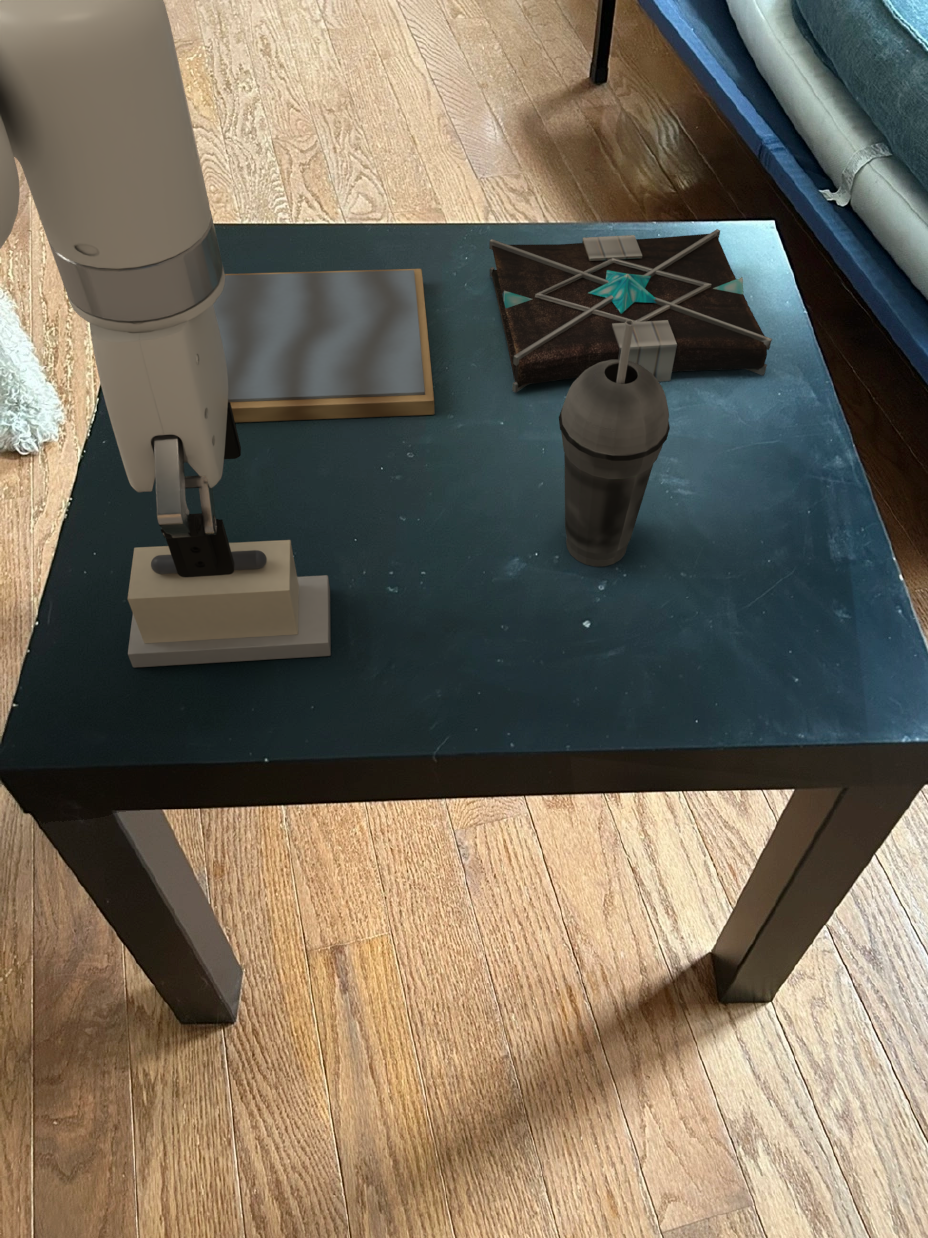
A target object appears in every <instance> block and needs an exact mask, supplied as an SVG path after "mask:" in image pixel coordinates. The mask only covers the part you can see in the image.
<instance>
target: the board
mask: <svg viewBox="0 0 928 1238" xmlns="http://www.w3.org/2000/svg"><path fill="white" fill-rule="evenodd" d="M224 274H225V284H224V288H223V291H222V292H221V294H220V296H219V297H218V298H217V300H216V301H215V303H214V304H213V306H214V310H215V314H216V318H217V322H218V326H219V331H220V335H221V339H222V344H223V349H224V354H225V360H226V366H227V374H228V402H230V404H231V408H232V412H233V416H234V420H235V424H236V423H258V422H259V423H261V422H284V421H287V422H288V421H309V420H312V421H313V420H333V419H334V420H335V419H336V420H337V419H359V418H360V419H361V418H362V419H363V418H381V417H383V418H387V417H407V416H409V417H412V416H433V415H435V412H436V411H435V394H434V384H433V383H434V382H433V372H432V363H431V362H432V361H431V352H430V351H431V350H430V341H429V332H428V320H427V310H426V300H425V289H424V279H423V270H422V268H397V269H396V268H395V269H391V268H390V269H360V270H359V269H357V270H322V271H288V272H287V271H286V272H284V271H283V272H254V273H251V272H249V273H245V272H244V273H224Z"/></svg>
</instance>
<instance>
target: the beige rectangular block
mask: <svg viewBox="0 0 928 1238" xmlns="http://www.w3.org/2000/svg"><path fill="white" fill-rule="evenodd" d="M229 545H230V549H231V553H232V556H233V560H234V572H233V573H232V574H230V575H216V576H201V577H181V576H179V575H178V573H177V570H176V567H175V564H174V561H173V558H172V556H171V553H170V550H169V547H168V545H163V546H162V545H161V546H160V545H159V546H140V547H134V548H133V556H132V562H131V569H130V576H129V577H130V578H129V586H128V593H127V602H128V604H129V607H130V610H131V612H132V617H131V625H130V633H129V642H128V648H127V656H128V659H129V661H130V664H131V666H132V668H150V667H168V666H169V667H170V666H184V665H199V664H216V663H217V664H219V663H231V662H232V663H234V662H252V661H267V660H282V659H285V660H286V659H300V658H317V657H318V658H319V657H330V656H331V655H332V653H331V652H332V651H331V650H332V649H331V648H332V647H331V645H332V644H331V642H332V641H331V639H332V638H331V587H330V579H329V575H327V574H324V575H305V576H298V574H297V568H296V563H295V557H294V552H293V546H292V540H291V539H281V540H261V541H260V540H259V541H242V542H241V541H239V542H229Z"/></svg>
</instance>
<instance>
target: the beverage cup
mask: <svg viewBox="0 0 928 1238" xmlns="http://www.w3.org/2000/svg"><path fill="white" fill-rule="evenodd" d="M633 326H634V322H633V321H632V320H627V321H626V322H625V328H624V334H623V341H622V348H621V354H620V359H614V360H607V361H603V362H600V363H597V364H595V365H593V366H591V367H589V368H588V369H586V370H585V371H584V372H583V373H582V374H581V375H580V376H579V377H578V378H575V380H574V381H573V382H572V383H571V385H570V386H569V388H568V390H567V393H566V396H565V398H564V402H563V405H562V407H561V410H560V413H559V416H558V423H559V430H560V433H561V441H562V447H563V453H564V454H563V455H564V459H563V460H564V528H565V529H564V530H565V536H566V538H565V543H566V549H567V551H568V553H569V554H570V556H572V558H574V559H575V560H576V561H577V562H579V563H581V564H583V565H585V566H590V567H594V568H595V567H607V566H611V565H614V564H616V563H617V562H619V561H621V560H622V559H623V557H624V556H625V555H626V552H627V548H628V547H629V544H630V541H632V536H633V533H634V529H635V526H636V523H637V520H638V517H639V516H638V515H639V513H640V510H641V506H642V504H643V499H644V496H645V493H646V489H647V486H648V483H649V480H650V477H651V473H652V470H653V467H654V464H655V462H656V461H657V460H658V458H659V456H660V453H661V452H662V448H663V446H664V444H665V443H666V441H667V440H668V436H669V433H670V430H671V429H670V427H671V426H670V421H669V419H670V413H669V412H670V411H669V406H668V400H667V397H666V392H665V390H664V389H663V386H662V385H661V383H660V382H658V381H657V379H656V378H655V377H654V375H653V374H652V373H651V372H649V371H648V370H647V369H645V368H644V367H642V366H641V365H639V364H636V363H634V362H632V361H628V358H629V352H630V345H631V339H632V332H633Z"/></svg>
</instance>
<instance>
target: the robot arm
mask: <svg viewBox="0 0 928 1238" xmlns="http://www.w3.org/2000/svg"><path fill="white" fill-rule="evenodd" d="M166 7H167V6H166V4H165V1H164V0H0V250H1V249H2V247H3V246H4V244H5V243H6V241H7V240H8V238H9V237H10V235H11V234H12V231H13V228H14V225H15V222H16V219H17V216H18V213H19V204H20V195H21V193H20V192H21V191H20V178H19V172H18V167H17V163H16V160H17V162H19V164H20V166H21V169H22V172H23V174H24V177H25V181H26V183H27V185H28V188H29V191H30V194H31V197H32V200H33V202H34V205H35V208H36V211H37V213H38V217H39V219H40V222H41V225H42V228H43V231H44V234H45V236H46V239H47V243H48V245H49V247H50V251H51V253H52V256H53V259H54V262H55V265H56V268H57V270H58V273H59V276H60V279H61V282H62V284H63V287H64V290H65V292H66V296H67V298H68V301H69V304H70V306H71V308H72V309H73V311H74V312H75V313H76V314H77V315H78V316H79V317H80V318H82V319H83V320H85V321H86V322H87V323H89V331H90V338H91V344H92V348H93V355H94V361H95V366H96V369H97V370H96V371H97V374H98V378H99V382H100V386H101V391H102V395H103V398H104V402H105V403H104V404H105V407H106V409H107V413H108V416H109V420H110V424H111V427H112V431H113V433H114V437H115V441H116V444H117V447H118V450H119V455H120V457H121V461H122V465H123V468H124V471H125V474H126V477H127V480H128V482H129V485H130V487H132V489H133V490H134V491H136V492H137V493H143V492H144V493H145V492H149V493H150V492H153V490H154V489H153V488H154V485H155V501H156V518H157V523H158V526H159V527H160V531H161V533H162V535H163V537H164V539H165V541H166V544H167V546H168V547H169V550H170V553H171V556H172V558H173V561H174V564H175V567H176V570H177V573H178V575H179V576H181V577H201V576H216V575H230V574H232V573H233V572H234V560H233V556H232V553H231V549H230V545H229V543H230V541H229V539H228V535H227V531H226V528H225V523H224V520H223V519H222V518H221V519H219V518H217V513H216V507H215V506H216V505H215V498H214V489H213V488H214V487H215V486H216V485H218V483H219V482H220V481H221V480H222V477H223V473H224V461H225V460H236V459H238V458H240V456H241V454H242V446H241V443H240V436H239V432H238V428H237V425H236V423H235V420H234V416H233V412H232V408H231V404H230V402H228V374H227V366H226V360H225V354H224V349H223V344H222V339H221V335H220V331H219V326H218V322H217V318H216V314H215V310H214V306H213V304H214V303H215V301H216V300H217V298H218V297H219V296H220V294H221V292H222V291H223V288H224V284H225V274H226V273H225V269H224V265H223V259H222V255H221V252H220V247H219V241H218V237H217V233H216V228H215V225H214V219H213V215H212V210H211V206H210V201H209V196H208V193H207V192H208V191H207V188H206V181H205V177H204V173H203V169H202V164H201V159H200V155H199V150H198V146H197V141H196V137H195V131H194V127H193V122H192V117H191V113H190V108H189V104H188V100H187V94H186V90H185V85H184V81H183V80H184V79H183V76H182V71H181V67H180V64H179V62H180V61H179V58H178V52H177V48H176V44H175V38H174V36H173V29H172V26H171V22H170V18H169V13H168V9H167V8H166ZM186 463H187V464H188V465H189V466H190V467H191V468H192V470H193V471H194V472H195V473H196V474H197V475H185V464H186ZM186 489H187V490H188V489H198V492H199V493H198V494H199V500H200V509H201V513H199V512H198V513H190V509H189V507H188V505H187V499H186Z"/></svg>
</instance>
